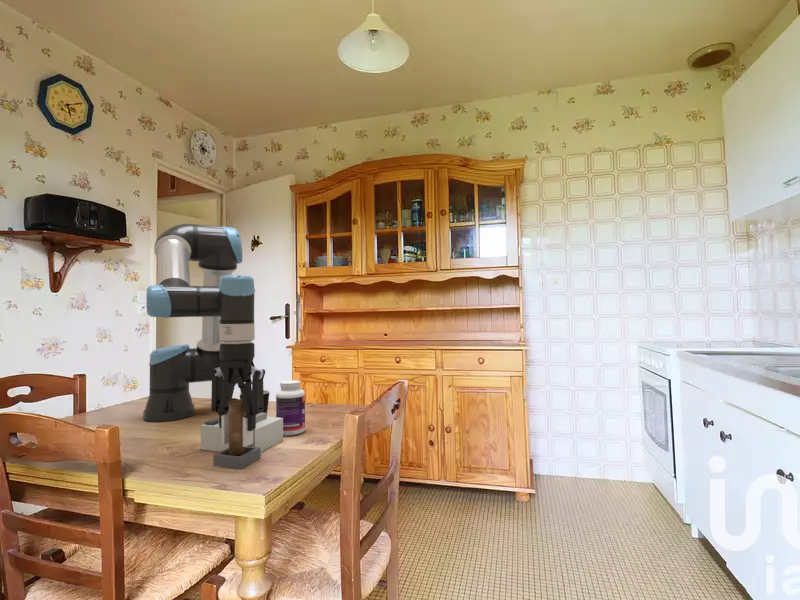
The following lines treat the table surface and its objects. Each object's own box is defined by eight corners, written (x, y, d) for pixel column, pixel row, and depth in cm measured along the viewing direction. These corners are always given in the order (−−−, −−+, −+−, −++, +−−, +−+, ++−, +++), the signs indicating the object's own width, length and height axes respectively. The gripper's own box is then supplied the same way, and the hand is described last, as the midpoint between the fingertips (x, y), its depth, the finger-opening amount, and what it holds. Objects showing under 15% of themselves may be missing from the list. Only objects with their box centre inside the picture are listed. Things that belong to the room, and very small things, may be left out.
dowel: (225, 464, 94) (225, 402, 95) (236, 458, 98) (235, 398, 98) (238, 465, 93) (238, 403, 94) (249, 460, 97) (248, 399, 97)
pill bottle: (308, 434, 117) (308, 382, 117) (279, 438, 113) (278, 385, 114) (301, 427, 124) (301, 378, 125) (273, 430, 121) (273, 380, 121)
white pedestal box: (200, 449, 105) (200, 419, 105) (233, 435, 116) (233, 408, 117) (254, 455, 100) (254, 423, 100) (283, 440, 112) (282, 412, 112)
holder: (213, 466, 93) (213, 455, 93) (234, 455, 100) (234, 445, 100) (240, 469, 91) (240, 458, 91) (260, 458, 98) (260, 447, 98)
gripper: (193, 343, 96) (192, 445, 95) (260, 344, 90) (261, 452, 90) (216, 340, 103) (216, 435, 102) (280, 341, 97) (281, 442, 97)
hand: (237, 443), depth 96 cm, fingers open, 5 cm apart
